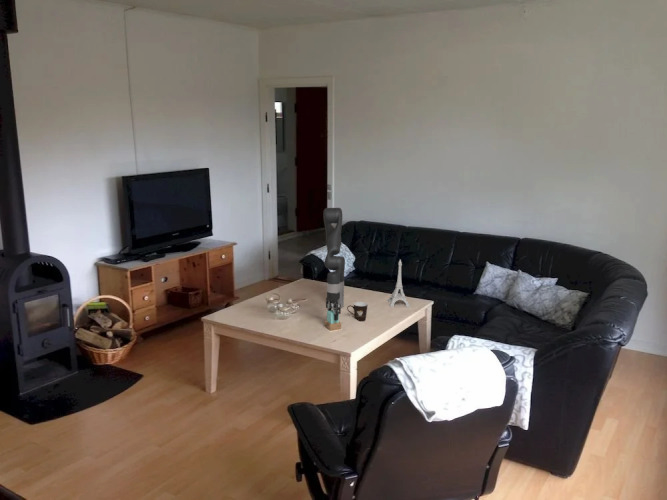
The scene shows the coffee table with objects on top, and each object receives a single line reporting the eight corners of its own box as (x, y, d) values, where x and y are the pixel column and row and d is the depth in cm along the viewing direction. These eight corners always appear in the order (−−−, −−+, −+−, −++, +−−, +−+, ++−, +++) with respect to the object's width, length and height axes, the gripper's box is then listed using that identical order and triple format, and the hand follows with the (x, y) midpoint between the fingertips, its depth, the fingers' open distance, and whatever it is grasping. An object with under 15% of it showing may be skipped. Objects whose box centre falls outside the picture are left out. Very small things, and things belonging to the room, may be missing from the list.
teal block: (326, 321, 345) (327, 311, 343) (334, 319, 347) (334, 309, 346) (330, 323, 340) (331, 313, 339) (338, 322, 343) (338, 312, 341)
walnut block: (324, 327, 346) (324, 320, 345) (335, 325, 349) (335, 319, 348) (330, 331, 340) (330, 324, 339) (341, 329, 343) (341, 322, 342)
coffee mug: (369, 319, 365) (370, 303, 363) (363, 323, 358) (363, 307, 356) (353, 315, 371) (353, 300, 369) (346, 319, 364) (346, 303, 362)
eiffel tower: (386, 300, 403) (388, 257, 396) (406, 300, 404) (408, 257, 397) (390, 307, 390) (391, 262, 383) (410, 306, 391) (412, 262, 384)
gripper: (321, 288, 344) (321, 315, 348) (333, 294, 332) (332, 323, 335) (333, 286, 347) (333, 313, 351) (345, 293, 335) (344, 321, 339)
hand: (333, 318), depth 343 cm, fingers open, 7 cm apart
